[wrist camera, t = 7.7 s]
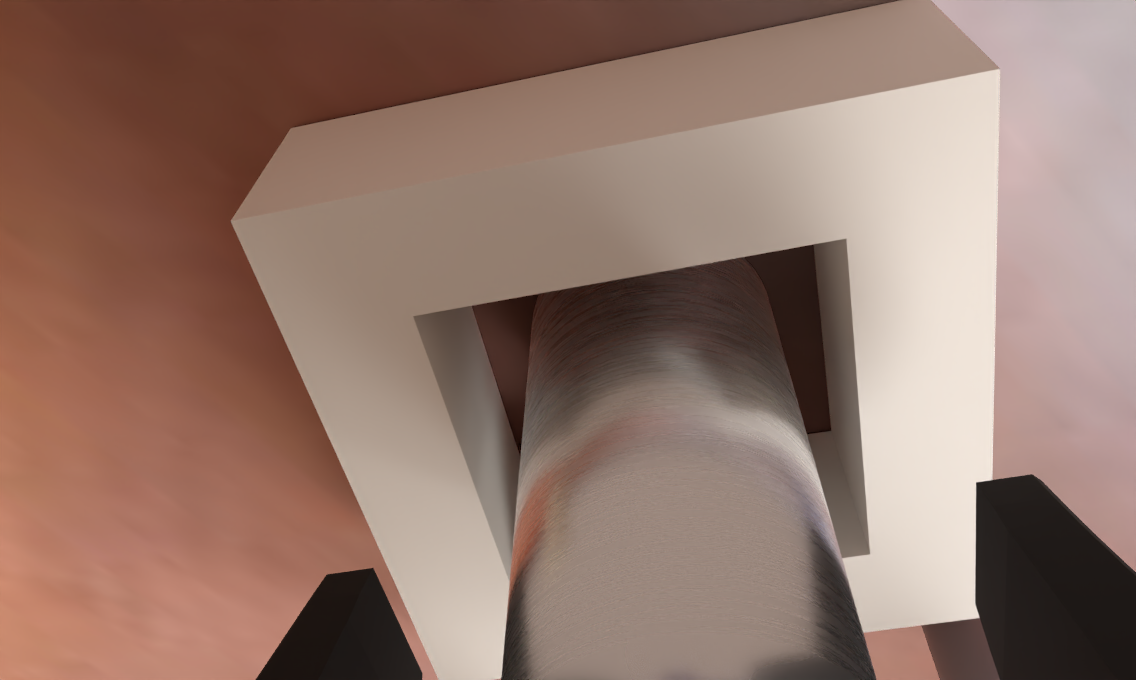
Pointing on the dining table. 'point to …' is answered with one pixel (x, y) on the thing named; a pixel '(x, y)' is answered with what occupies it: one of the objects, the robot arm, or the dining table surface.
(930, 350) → the socket block
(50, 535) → the dining table surface
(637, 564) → the peg
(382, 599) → the robot arm
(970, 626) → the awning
